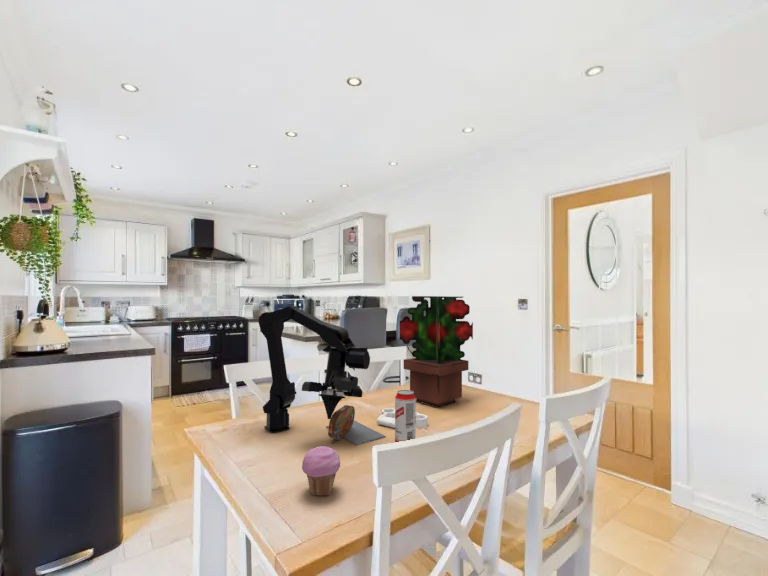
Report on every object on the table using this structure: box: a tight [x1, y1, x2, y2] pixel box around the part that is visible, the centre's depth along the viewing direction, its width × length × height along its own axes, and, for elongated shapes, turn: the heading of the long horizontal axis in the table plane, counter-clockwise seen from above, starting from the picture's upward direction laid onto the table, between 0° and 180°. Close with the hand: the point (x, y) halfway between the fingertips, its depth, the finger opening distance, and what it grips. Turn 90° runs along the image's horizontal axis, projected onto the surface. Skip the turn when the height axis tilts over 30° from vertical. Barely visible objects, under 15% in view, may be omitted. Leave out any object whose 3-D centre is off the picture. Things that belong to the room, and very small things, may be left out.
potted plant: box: [399, 295, 474, 408], centre depth 161 cm, size 22×22×45 cm
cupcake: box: [301, 445, 341, 496], centre depth 86 cm, size 9×9×10 cm
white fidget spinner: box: [376, 407, 429, 429], centre depth 133 cm, size 3×18×15 cm
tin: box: [327, 404, 356, 441], centre depth 120 cm, size 15×3×8 cm, turn 161°
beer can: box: [394, 389, 417, 443], centre depth 113 cm, size 6×6×16 cm
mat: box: [325, 419, 386, 446], centre depth 123 cm, size 11×19×1 cm, turn 37°
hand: (329, 418), depth 114 cm, fingers closed, pressing on tin
